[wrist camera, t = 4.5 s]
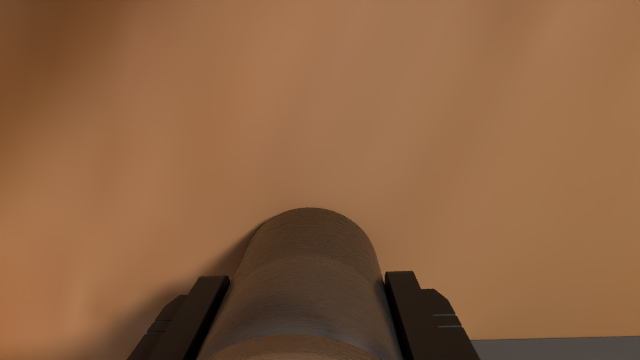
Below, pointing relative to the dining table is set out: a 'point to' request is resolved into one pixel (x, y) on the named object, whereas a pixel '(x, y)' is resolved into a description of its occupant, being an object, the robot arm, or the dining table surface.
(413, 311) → the robot arm
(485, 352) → the camera body
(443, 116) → the dining table surface
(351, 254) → the lens
